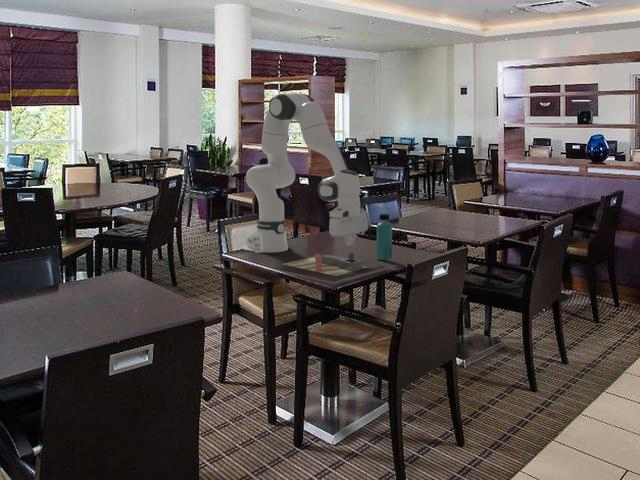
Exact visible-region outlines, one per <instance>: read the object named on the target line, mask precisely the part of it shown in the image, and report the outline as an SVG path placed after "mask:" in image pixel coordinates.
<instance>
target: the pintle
mask: <svg viewBox="0 0 640 480" xmlns="http://www.w3.org/2000/svg"><path fill="white" fill-rule="evenodd" d="M354 257H355V253H354V252H348V258H349V262H354V259H355V258H354Z"/></svg>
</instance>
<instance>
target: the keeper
mask: <svg viewBox="0 0 640 480" xmlns="http://www.w3.org/2000/svg"><path fill="white" fill-rule="evenodd" d="M322 256H323V255H321V253H314V254H313V257H314V258H315V260H316V271H322Z"/></svg>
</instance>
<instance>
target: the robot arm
mask: <svg viewBox="0 0 640 480" xmlns="http://www.w3.org/2000/svg"><path fill="white" fill-rule="evenodd" d="M292 121H297V122H298V125H299V126H300V127H299V128H300V131H301V136H302V139H303V142H305V145H306V147H307V148H309V149H310V150H312V151H313V152H314V151H315V152H317V153H319V154H321V155H323V156H325V157H326V158H327V160H328V161H329V163H330V166H331V168H332V171H333V173H334V175H332V176H329V177H326V178H324V179H322V180H321V181H319V184H318V187H317V192H318V195H319V198H320V199H321V200H323V201H324V202H328V203H330V202H337V206H336V207H335V208H333V209H332V210H331V211H329V217H330V219H329V224H328V225H329V226H328V228H329V229H328V231H329V235H330V236H331V237H336V238H338V237H343V239H344V241H345V245H346V246H351V245H352V246H353V245H354V240H355V238H356V233H362V232H363V233H364V232H367V231H368V229H369V221H368V215H367V211H366V210H365V208H361V201H360V194H361V182H360V177H359V174H358V172H357V171H354V170H350V169H349V167H348V164H347V161H346V159H345V157H344V155H343V153H342V150H341V148H340V146H339V144H338V142H337V141H336V140H335V138H334V136H333V135H332V133H331V131H330V128H329V126H328V125H329V124H328V123H327V122H328V121H327V119H326V116H325V114H324V112H323V109H322V107H321V106H320V105H319V103H318V102H316V101H315V99H314V98H313V97H312V96H311V95H308V94H306V93H296V92H291V93H279V94H275V95H274V96H272V97H271V98H270V101H269V103H268V109H267V111H266V113H265V117H264V121H263V126H262V136H261V145H260V146H261V147H260V148H261V150H262V151H261V152H263V153H264V154H265V155H266V157H267V164H258V165H255V166H253V167H250V168H249V169H248V170H247V172H246V174H245V181H246V184H247V186H248V187H249V188H250V189H251V190H252V191H253V192H254V194H255V196H256V198H257V202H258V214H259V215H258V216H259V219H258V220H257V221H256V220H255V225H256V228H255V229H254V230H253V231H252V232H251V233H250V234H248V235H247V237H246V245H244V246H241V250H244V251H251V252H253V253H254V252H255V253H256V254H257V253H260V254H261V253H281V252H286V251H288V249H289V246H288V240H287V232H286V219H285V203H284V200H282V199H281V198H280V197H279V196H278V193H277V189H283V188H286V187H288V186H291V185H292V184H293V183H294V181H295V180H296V171H295V168H294V167H293V166H292V165H291V163H290V161H289V157H288V140H289V129H290V124H291V122H292Z"/></svg>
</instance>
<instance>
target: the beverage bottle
mask: <svg viewBox="0 0 640 480" xmlns="http://www.w3.org/2000/svg"><path fill="white" fill-rule="evenodd" d="M378 219H379V220H381V221H379V222H378V223H377V224H376V258H377V259H378V260H382V261H383V260H384V261H386V260H387V261H388V260H389V261H390V260H391V259H392V258H393V225H392V223H390V222H389V221H388V220H390V214H389V213H381V214H379V218H378ZM385 220H386V221H385Z"/></svg>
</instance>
